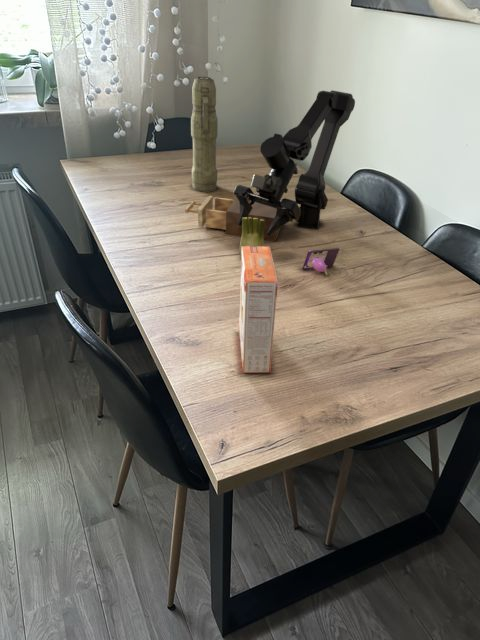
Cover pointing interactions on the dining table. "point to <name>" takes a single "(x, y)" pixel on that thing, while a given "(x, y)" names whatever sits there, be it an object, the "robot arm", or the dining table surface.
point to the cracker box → (257, 308)
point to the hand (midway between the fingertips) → (253, 230)
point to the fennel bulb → (252, 233)
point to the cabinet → (256, 212)
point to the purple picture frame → (321, 263)
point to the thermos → (204, 134)
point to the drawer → (211, 212)
